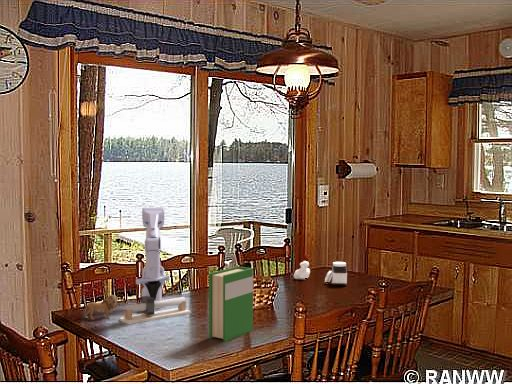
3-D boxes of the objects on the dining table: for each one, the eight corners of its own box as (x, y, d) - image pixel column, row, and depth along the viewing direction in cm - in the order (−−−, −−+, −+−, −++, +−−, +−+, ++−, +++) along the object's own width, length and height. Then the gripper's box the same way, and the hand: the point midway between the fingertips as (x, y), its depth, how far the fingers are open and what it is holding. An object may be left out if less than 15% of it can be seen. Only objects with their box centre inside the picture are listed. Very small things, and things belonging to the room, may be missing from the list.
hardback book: (225, 341, 218) (225, 275, 217) (208, 338, 222) (209, 273, 221) (252, 330, 233) (253, 268, 231) (237, 327, 237) (237, 266, 235)
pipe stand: (119, 320, 246) (119, 304, 245) (181, 309, 264) (181, 294, 263) (128, 324, 240) (128, 308, 239) (190, 313, 257) (190, 298, 257)
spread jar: (347, 286, 313) (348, 264, 313) (325, 286, 313) (326, 264, 313) (344, 282, 325) (345, 260, 325) (323, 282, 325) (323, 260, 325)
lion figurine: (115, 314, 255) (115, 293, 254) (118, 317, 250) (118, 295, 250) (79, 318, 248) (79, 296, 248) (82, 321, 244) (82, 299, 243)
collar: (140, 312, 251) (140, 296, 250) (147, 311, 252) (147, 295, 252) (147, 315, 246) (147, 299, 245) (154, 314, 248) (154, 298, 247)
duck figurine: (296, 284, 329) (306, 269, 324) (287, 274, 333) (297, 259, 328) (309, 281, 338) (319, 267, 332) (301, 271, 342) (311, 257, 336)
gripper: (141, 270, 242) (141, 303, 243) (173, 266, 251) (173, 298, 252) (133, 267, 248) (133, 300, 248) (164, 264, 256) (164, 295, 257)
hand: (153, 299), depth 250 cm, fingers closed
